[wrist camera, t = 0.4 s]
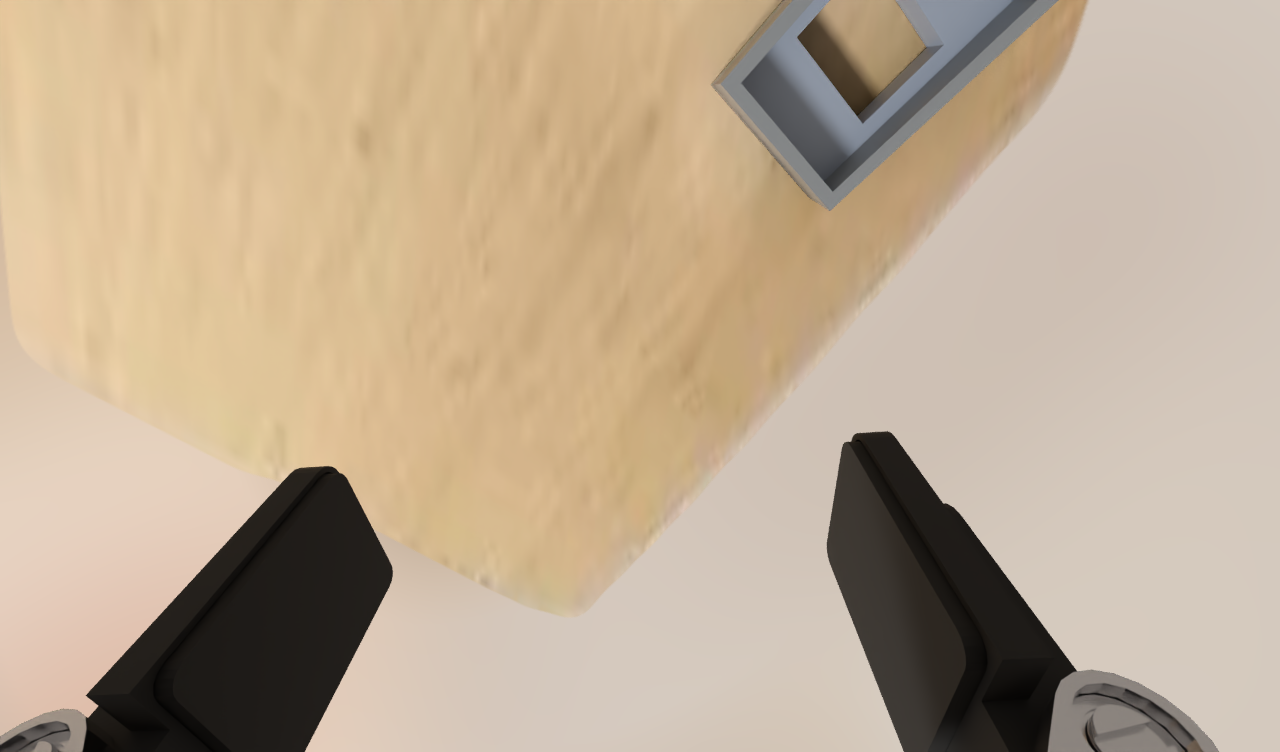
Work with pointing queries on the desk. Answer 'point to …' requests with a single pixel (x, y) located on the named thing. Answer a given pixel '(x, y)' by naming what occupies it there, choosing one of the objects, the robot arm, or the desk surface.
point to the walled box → (856, 145)
